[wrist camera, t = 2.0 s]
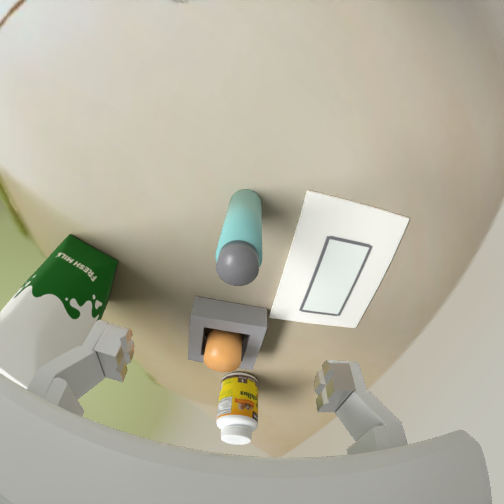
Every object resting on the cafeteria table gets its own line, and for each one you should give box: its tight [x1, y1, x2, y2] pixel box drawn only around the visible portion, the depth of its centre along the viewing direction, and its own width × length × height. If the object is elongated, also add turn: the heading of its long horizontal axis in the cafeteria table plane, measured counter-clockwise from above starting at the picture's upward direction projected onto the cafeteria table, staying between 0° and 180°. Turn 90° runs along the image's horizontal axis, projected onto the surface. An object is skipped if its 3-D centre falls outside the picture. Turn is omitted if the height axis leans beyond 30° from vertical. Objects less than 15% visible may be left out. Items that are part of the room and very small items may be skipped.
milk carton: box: [0, 234, 118, 389], centre depth 20 cm, size 9×9×20 cm
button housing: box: [188, 296, 267, 370], centre depth 31 cm, size 8×8×3 cm
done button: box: [204, 329, 242, 372], centre depth 29 cm, size 4×4×3 cm
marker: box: [216, 189, 262, 286], centre depth 20 cm, size 3×3×10 cm
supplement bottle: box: [216, 372, 258, 445], centre depth 34 cm, size 6×6×10 cm
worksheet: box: [269, 190, 409, 328], centre depth 27 cm, size 15×11×1 cm
